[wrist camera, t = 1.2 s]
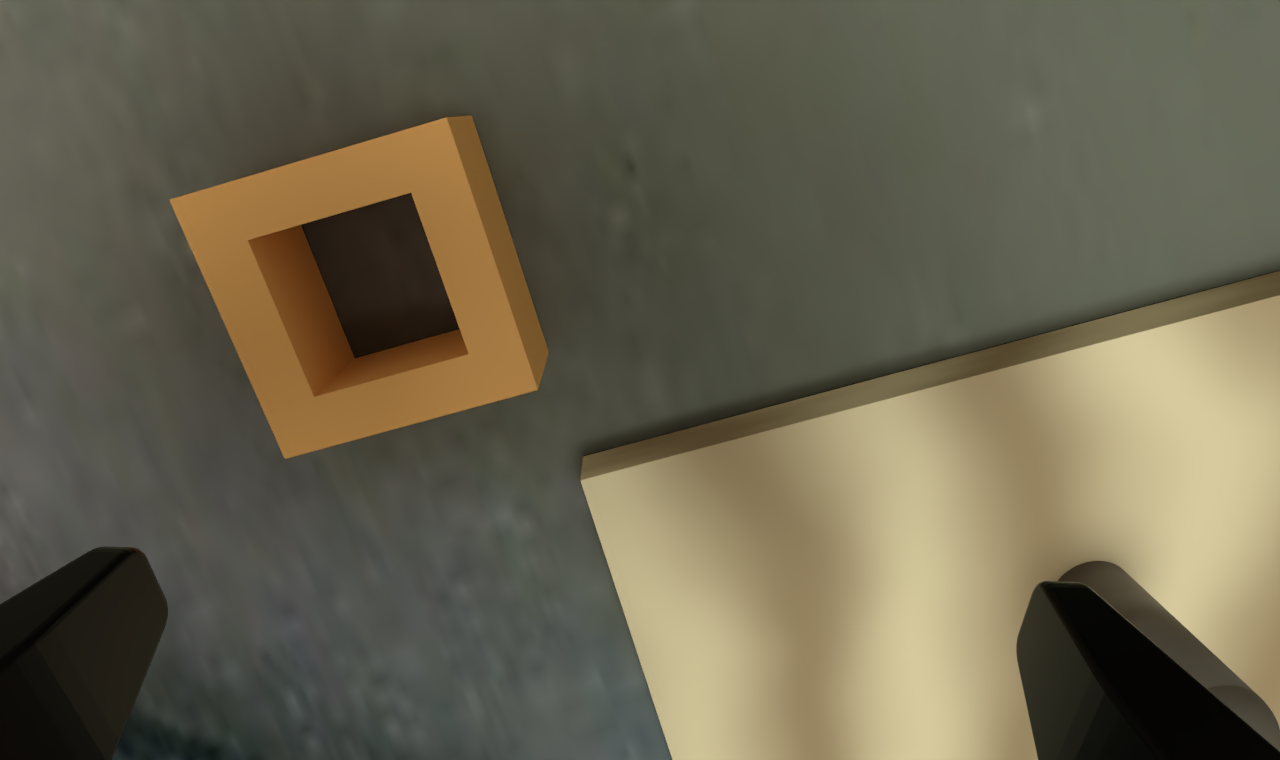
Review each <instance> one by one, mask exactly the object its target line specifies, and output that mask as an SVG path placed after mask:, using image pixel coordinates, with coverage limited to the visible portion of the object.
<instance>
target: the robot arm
mask: <svg viewBox="0 0 1280 760" xmlns="http://www.w3.org/2000/svg"><path fill="white" fill-rule="evenodd" d="M167 616H168V606H167V601H166V598H165V596H164V594H163V592H162V590H161V587H160V585H159V583H158V581H157V579H156V577H155V574H154V572H153V570H152V568H151V566H150V564H149V561H148V559H147V557H146V556H145V554H144V553H143V552H141V551H140V550H139V549H136V548H129V547H99V548H95V549H93V550H91V551H89V552H87V553H85V554H84V555H82V556H80V557H79V558H77V559H75V560H74V561H72V562H70V563H69V564H67V565H65V566H64V567H62V568H60V569H58V570H57V571H55V572H53V573H52V574H50V575H48V576H47V577H45V578H43V579H42V580H40V581H38V582H37V583H35V584H33V585H32V586H30V587H28V588H27V589H25V590H23V591H22V592H20V593H18V594H17V595H15V596H13V597H12V598H10V599H8V600H7V601H5V602H3V603H1V604H0V760H111V759H112V757H113V755H114V752H115V750H116V748H117V745H118V743H119V741H120V738H121V736H122V733H123V731H124V728H125V726H126V723H127V721H128V718H129V716H130V713H131V711H132V708H133V706H134V703H135V701H136V698H137V696H138V693H139V691H140V688H141V686H142V683H143V681H144V678H145V676H146V673H147V671H148V668H149V666H150V663H151V661H152V658H153V656H154V653H155V651H156V648H157V646H158V643H159V641H160V638H161V636H162V633H163V631H164V628H165V625H166V621H167ZM1016 654H1017V662H1018V667H1019V672H1020V677H1021V681H1022V686H1023V691H1024V696H1025V700H1026V705H1027V710H1028V715H1029V719H1030V724H1031V729H1032V734H1033V738H1034V743H1035V748H1036V753H1037V757H1038V760H1280V751H1279V750H1278V749H1277V748H1275V747H1274V746H1273V745H1272V744H1271V743H1270V742H1268V741H1267V740H1266V739H1265V738H1264V737H1263V736H1262V735H1260V734H1259V733H1258V732H1257V731H1256V730H1255V729H1253V728H1252V727H1251V726H1250V725H1249V724H1248V723H1246V722H1245V721H1244V720H1243V719H1242V718H1241V717H1240V716H1238V715H1237V714H1236V713H1235V712H1234V711H1233V710H1231V709H1230V708H1229V707H1228V706H1227V705H1226V704H1224V703H1223V702H1222V701H1221V700H1220V699H1219V698H1218V697H1216V696H1215V695H1214V694H1213V693H1212V692H1211V691H1209V690H1208V689H1207V688H1206V687H1205V686H1204V685H1202V684H1201V683H1200V682H1199V681H1198V680H1197V679H1196V678H1194V677H1193V676H1192V675H1191V674H1190V673H1189V672H1187V671H1186V670H1185V669H1184V668H1183V667H1182V666H1180V665H1179V664H1178V663H1177V662H1176V661H1175V660H1174V659H1172V658H1171V657H1170V656H1169V655H1168V654H1167V653H1165V652H1164V651H1163V650H1162V649H1161V648H1160V647H1158V646H1157V645H1156V644H1155V643H1154V642H1153V641H1152V640H1150V639H1149V638H1148V637H1147V636H1146V635H1145V634H1143V633H1142V632H1141V631H1140V630H1139V629H1138V628H1136V627H1135V626H1134V625H1133V624H1132V623H1131V622H1130V621H1128V620H1127V619H1126V618H1125V617H1124V616H1123V615H1121V614H1120V613H1119V612H1118V611H1117V610H1116V609H1114V608H1113V607H1112V606H1111V605H1110V604H1109V603H1108V602H1106V601H1105V600H1104V599H1103V598H1102V597H1101V596H1099V595H1098V594H1097V593H1096V592H1095V591H1094V590H1092V589H1091V588H1090V587H1088V586H1087V585H1085V584H1083V583H1079V582H1065V581H1042V582H1040V583H1038V584H1037V585H1036V586H1035V588H1034V590H1033V592H1032V595H1031V598H1030V601H1029V604H1028V607H1027V610H1026V613H1025V615H1024V618H1023V621H1022V624H1021V627H1020V630H1019V633H1018V637H1017V643H1016Z"/></svg>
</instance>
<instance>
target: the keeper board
mask: <svg viewBox="0 0 1280 760" xmlns="http://www.w3.org/2000/svg"><path fill="white" fill-rule="evenodd" d="M580 481H581V484H582V487H583V490H584V493H585V496H586V499H587V502H588V505H589V508H590V511H591V514H592V517H593V520H594V523H595V526H596V529H597V532H598V535H599V538H600V542H601V545H602V548H603V551H604V554H605V557H606V560H607V563H608V566H609V569H610V572H611V575H612V578H613V581H614V584H615V587H616V590H617V593H618V596H619V599H620V602H621V605H622V608H623V611H624V614H625V617H626V620H627V623H628V626H629V629H630V632H631V635H632V638H633V641H634V645H635V648H636V651H637V654H638V657H639V660H640V663H641V666H642V669H643V672H644V675H645V678H646V681H647V684H648V687H649V690H650V693H651V696H652V699H653V702H654V705H655V708H656V711H657V714H658V717H659V720H660V723H661V726H662V729H663V732H664V735H665V738H666V741H667V744H668V748H669V751H670V754H671V757H672V760H1038V757H1037V753H1036V748H1035V743H1034V738H1033V734H1032V729H1031V724H1030V719H1029V715H1028V710H1027V705H1026V700H1025V696H1024V691H1023V686H1022V681H1021V677H1020V672H1019V667H1018V662H1017V654H1016V643H1017V637H1018V633H1019V630H1020V627H1021V624H1022V621H1023V618H1024V615H1025V613H1026V610H1027V607H1028V604H1029V601H1030V598H1031V595H1032V592H1033V590H1034V588H1035V586H1036V585H1037V584H1038V583H1040V582H1042V581H1065V582H1079V583H1083V584H1085V585H1087V586H1088V587H1090V588H1091V589H1092V590H1094V591H1095V592H1096V593H1097V594H1098V595H1099V596H1101V597H1102V598H1103V599H1104V600H1105V601H1106V602H1108V603H1109V604H1110V605H1111V606H1112V607H1113V608H1114V609H1116V610H1117V611H1118V612H1119V613H1120V614H1121V615H1123V616H1124V617H1125V618H1126V619H1127V620H1128V621H1130V622H1131V623H1132V624H1133V625H1134V626H1135V627H1136V628H1138V629H1139V630H1140V631H1141V632H1142V633H1143V634H1145V635H1146V636H1147V637H1148V638H1149V639H1150V640H1152V641H1153V642H1154V643H1155V644H1156V645H1157V646H1158V647H1160V648H1161V649H1162V650H1163V651H1164V652H1165V653H1167V654H1168V655H1169V656H1170V657H1171V658H1172V659H1174V660H1175V661H1176V662H1177V663H1178V664H1179V665H1180V666H1182V667H1183V668H1184V669H1185V670H1186V671H1187V672H1189V673H1190V674H1191V675H1192V676H1193V677H1194V678H1196V679H1197V680H1198V681H1199V682H1200V683H1201V684H1202V685H1204V686H1205V687H1206V688H1207V689H1208V690H1209V691H1211V692H1212V693H1213V694H1214V695H1215V696H1216V697H1218V698H1219V699H1220V700H1221V701H1222V702H1223V703H1224V704H1226V705H1227V706H1228V707H1229V708H1230V709H1231V710H1233V711H1234V712H1235V713H1236V714H1237V715H1238V716H1240V717H1241V718H1242V719H1243V720H1244V721H1245V722H1246V723H1248V724H1249V725H1250V726H1251V727H1252V728H1253V729H1255V730H1256V731H1257V732H1258V733H1259V734H1260V735H1262V736H1263V737H1264V738H1265V739H1266V740H1267V741H1268V742H1270V743H1271V744H1272V745H1273V746H1274V747H1275V748H1277V749H1278V750H1279V751H1280V271H1277V272H1273V273H1270V274H1266V275H1262V276H1258V277H1255V278H1251V279H1247V280H1243V281H1240V282H1236V283H1232V284H1228V285H1225V286H1221V287H1217V288H1213V289H1210V290H1206V291H1202V292H1198V293H1195V294H1191V295H1187V296H1183V297H1180V298H1176V299H1172V300H1168V301H1165V302H1161V303H1157V304H1153V305H1150V306H1146V307H1142V308H1138V309H1135V310H1131V311H1127V312H1123V313H1120V314H1116V315H1112V316H1108V317H1105V318H1101V319H1097V320H1093V321H1090V322H1086V323H1082V324H1078V325H1075V326H1071V327H1067V328H1063V329H1060V330H1056V331H1052V332H1048V333H1045V334H1041V335H1037V336H1033V337H1030V338H1026V339H1022V340H1018V341H1015V342H1011V343H1007V344H1003V345H1000V346H996V347H992V348H988V349H985V350H981V351H977V352H973V353H970V354H966V355H962V356H958V357H955V358H951V359H947V360H943V361H940V362H936V363H932V364H928V365H925V366H921V367H917V368H913V369H910V370H906V371H902V372H898V373H895V374H891V375H887V376H883V377H880V378H876V379H872V380H868V381H865V382H861V383H857V384H853V385H850V386H846V387H842V388H838V389H835V390H831V391H827V392H823V393H820V394H816V395H812V396H808V397H805V398H801V399H797V400H793V401H790V402H786V403H782V404H778V405H775V406H771V407H767V408H763V409H760V410H756V411H752V412H748V413H745V414H741V415H737V416H733V417H730V418H726V419H722V420H718V421H715V422H711V423H707V424H703V425H700V426H696V427H692V428H688V429H685V430H681V431H677V432H673V433H670V434H666V435H662V436H658V437H655V438H651V439H647V440H643V441H640V442H636V443H632V444H628V445H625V446H621V447H617V448H613V449H610V450H606V451H602V452H598V453H595V454H591V455H587V456H583V461H582V470H581V479H580Z"/></svg>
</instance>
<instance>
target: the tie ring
mask: <svg viewBox="0 0 1280 760" xmlns="http://www.w3.org/2000/svg"><path fill="white" fill-rule="evenodd" d="M408 193H411V194H412V197H413V200H414V202H415V205H416V208H417V211H418V214H419V216H420V219H421V222H422V225H423V228H424V230H425V233H426V236H427V239H428V242H429V244H430V247H431V250H432V253H433V256H434V258H435V261H436V264H437V267H438V270H439V272H440V275H441V278H442V281H443V284H444V286H445V289H446V292H447V295H448V298H449V300H450V303H451V306H452V309H453V312H454V314H455V317H456V320H457V323H458V326H459V328H460V329H458V330H455V331H451V332H447V333H444V334H440V335H437V336H433V337H429V338H426V339H422V340H419V341H415V342H412V343H408V344H404V345H401V346H397V347H394V348H390V349H387V350H383V351H379V352H376V353H372V354H369V355H365V356H362V357H358V358H354V355H353V353H352V350H351V348H350V345H349V343H348V341H347V338H346V336H345V333H344V331H343V328H342V326H341V323H340V321H339V318H338V316H337V313H336V311H335V308H334V306H333V303H332V301H331V298H330V296H329V293H328V291H327V288H326V286H325V283H324V281H323V278H322V276H321V273H320V271H319V268H318V266H317V263H316V261H315V258H314V256H313V253H312V251H311V248H310V246H309V243H308V241H307V238H306V236H305V233H304V231H303V228H302V226H301V225H302V224H305V223H308V222H312V221H315V220H319V219H322V218H326V217H329V216H332V215H336V214H339V213H343V212H346V211H350V210H353V209H356V208H360V207H363V206H367V205H370V204H374V203H377V202H380V201H384V200H387V199H391V198H394V197H398V196H401V195H404V194H408ZM169 201H170V203H171V205H172V207H173V210H174V212H175V214H176V216H177V218H178V221H179V223H180V225H181V227H182V230H183V232H184V234H185V236H186V239H187V241H188V243H189V245H190V248H191V250H192V252H193V254H194V257H195V259H196V261H197V263H198V266H199V268H200V270H201V272H202V275H203V277H204V279H205V281H206V283H207V286H208V288H209V290H210V292H211V295H212V297H213V299H214V301H215V304H216V306H217V308H218V310H219V313H220V315H221V317H222V319H223V322H224V324H225V326H226V328H227V331H228V333H229V335H230V337H231V340H232V342H233V344H234V346H235V348H236V351H237V353H238V355H239V357H240V360H241V362H242V364H243V366H244V369H245V371H246V373H247V375H248V378H249V380H250V382H251V384H252V387H253V389H254V391H255V393H256V396H257V398H258V400H259V402H260V405H261V407H262V409H263V411H264V413H265V416H266V418H267V420H268V422H269V425H270V427H271V429H272V431H273V434H274V436H275V438H276V440H277V443H278V445H279V447H280V449H281V452H282V454H283V456H284V458H285V459H287V458H290V457H294V456H298V455H301V454H305V453H309V452H312V451H316V450H320V449H323V448H327V447H331V446H334V445H338V444H342V443H345V442H349V441H353V440H356V439H360V438H364V437H367V436H371V435H375V434H378V433H382V432H386V431H389V430H393V429H397V428H400V427H404V426H408V425H411V424H415V423H419V422H422V421H426V420H430V419H433V418H437V417H441V416H444V415H448V414H452V413H455V412H459V411H463V410H466V409H470V408H474V407H477V406H481V405H485V404H488V403H492V402H496V401H499V400H503V399H507V398H510V397H514V396H518V395H521V394H525V393H529V392H532V391H536V390H538V388H539V385H540V381H541V378H542V374H543V371H544V368H545V364H546V361H547V357H548V354H549V351H548V348H547V345H546V341H545V338H544V335H543V332H542V329H541V326H540V323H539V320H538V317H537V314H536V311H535V308H534V305H533V302H532V299H531V295H530V292H529V289H528V286H527V283H526V280H525V277H524V274H523V271H522V268H521V265H520V262H519V259H518V256H517V252H516V249H515V246H514V243H513V240H512V237H511V234H510V231H509V228H508V225H507V222H506V219H505V216H504V213H503V210H502V206H501V203H500V200H499V197H498V194H497V191H496V188H495V185H494V182H493V179H492V176H491V173H490V170H489V167H488V163H487V160H486V157H485V154H484V151H483V148H482V145H481V142H480V139H479V136H478V133H477V130H476V127H475V124H474V121H473V117H472V115H469V116H457V117H446V118H443V119H439V120H436V121H433V122H429V123H426V124H423V125H419V126H416V127H412V128H409V129H406V130H402V131H399V132H396V133H392V134H389V135H385V136H382V137H379V138H375V139H372V140H369V141H365V142H362V143H359V144H355V145H352V146H348V147H345V148H342V149H338V150H335V151H332V152H328V153H325V154H321V155H318V156H315V157H311V158H308V159H305V160H301V161H298V162H295V163H291V164H288V165H284V166H281V167H278V168H274V169H271V170H268V171H264V172H261V173H257V174H254V175H251V176H247V177H244V178H241V179H237V180H234V181H231V182H227V183H224V184H220V185H217V186H214V187H210V188H207V189H204V190H200V191H197V192H193V193H190V194H187V195H183V196H180V197H177V198H173V199H170V200H169Z"/></svg>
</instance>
